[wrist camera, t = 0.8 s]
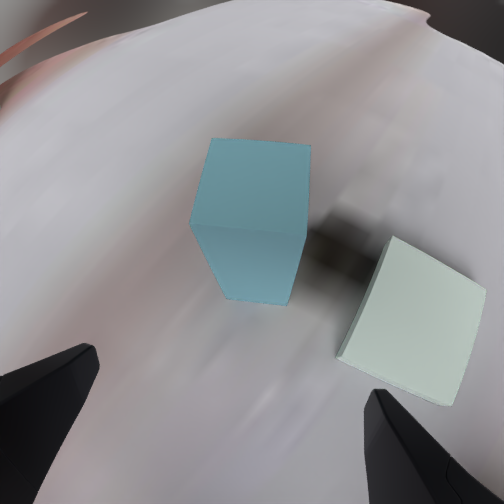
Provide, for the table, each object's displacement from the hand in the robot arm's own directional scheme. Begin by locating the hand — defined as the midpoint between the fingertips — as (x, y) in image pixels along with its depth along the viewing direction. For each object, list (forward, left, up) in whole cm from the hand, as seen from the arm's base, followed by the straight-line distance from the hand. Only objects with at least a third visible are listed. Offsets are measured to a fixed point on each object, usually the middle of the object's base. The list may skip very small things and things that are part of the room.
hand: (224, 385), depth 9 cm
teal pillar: (+5, +6, -13) cm, 15 cm away
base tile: (+12, -5, -13) cm, 19 cm away
